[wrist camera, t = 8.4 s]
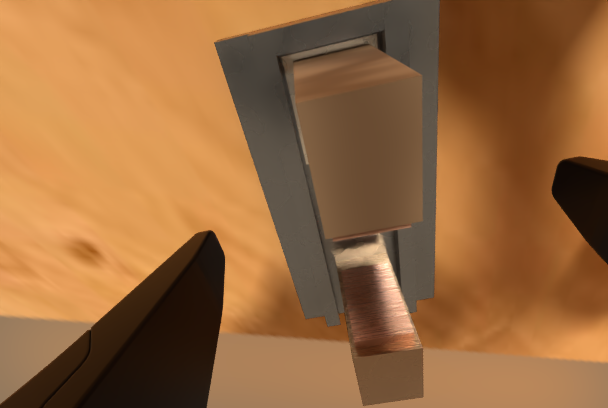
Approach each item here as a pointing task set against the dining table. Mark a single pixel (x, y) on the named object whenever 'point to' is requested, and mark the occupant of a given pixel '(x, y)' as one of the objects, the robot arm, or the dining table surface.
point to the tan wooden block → (362, 139)
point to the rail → (302, 199)
